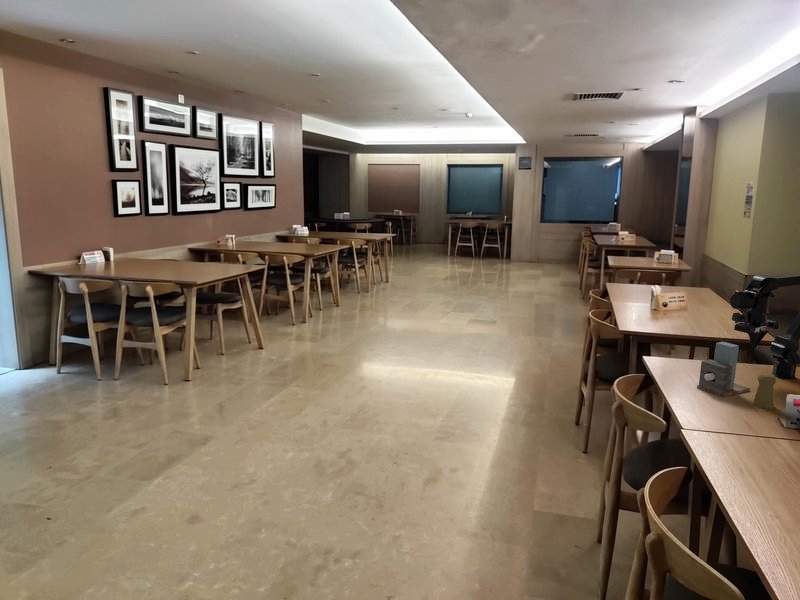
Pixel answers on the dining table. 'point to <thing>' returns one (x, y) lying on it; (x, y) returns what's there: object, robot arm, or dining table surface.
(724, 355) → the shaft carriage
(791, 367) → the robot arm
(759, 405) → the olive flared post
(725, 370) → the bearing stand
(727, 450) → the dining table surface
